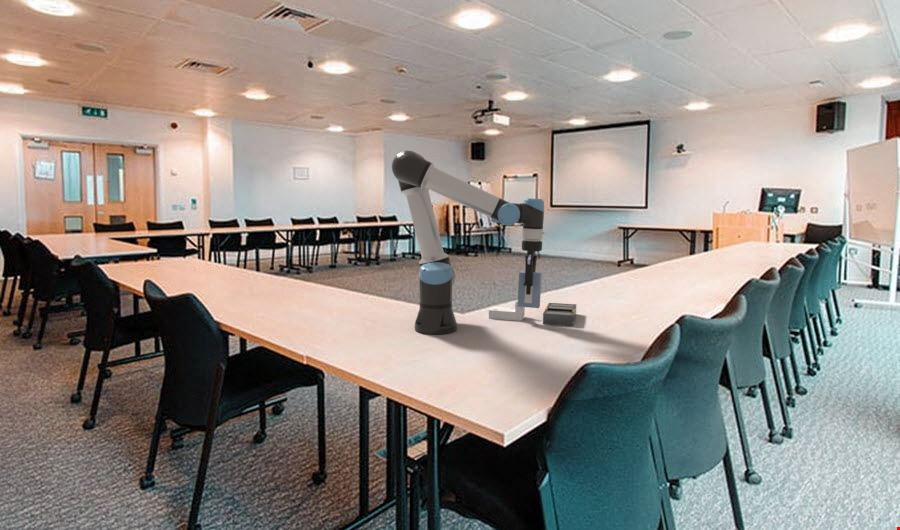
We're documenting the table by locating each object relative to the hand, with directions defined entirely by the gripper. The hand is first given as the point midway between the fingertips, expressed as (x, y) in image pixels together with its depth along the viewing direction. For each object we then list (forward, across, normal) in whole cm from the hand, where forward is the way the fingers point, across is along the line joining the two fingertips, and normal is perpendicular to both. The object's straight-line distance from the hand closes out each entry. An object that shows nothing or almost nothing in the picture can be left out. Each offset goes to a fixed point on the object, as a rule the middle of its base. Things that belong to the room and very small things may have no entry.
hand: (528, 301), depth 203 cm
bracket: (+9, +6, +9) cm, 14 cm away
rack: (+8, +10, -11) cm, 17 cm away
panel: (+2, 0, 0) cm, 2 cm away
